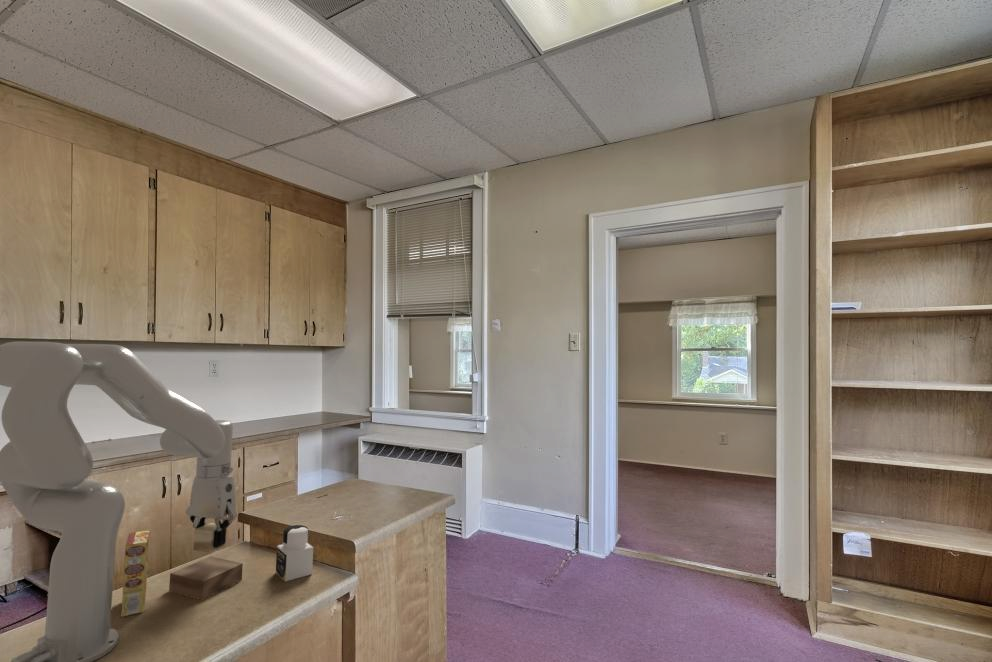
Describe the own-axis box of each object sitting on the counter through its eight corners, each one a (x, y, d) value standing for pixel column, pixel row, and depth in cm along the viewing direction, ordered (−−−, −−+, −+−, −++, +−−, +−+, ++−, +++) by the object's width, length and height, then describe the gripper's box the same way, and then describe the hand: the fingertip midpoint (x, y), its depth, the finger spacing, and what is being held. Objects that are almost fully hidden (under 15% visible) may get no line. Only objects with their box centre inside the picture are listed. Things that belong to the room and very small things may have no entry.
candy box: (143, 613, 106) (148, 541, 107) (119, 618, 104) (124, 545, 105) (146, 596, 114) (150, 529, 115) (123, 600, 111) (128, 532, 112)
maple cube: (210, 552, 118) (211, 531, 118) (193, 550, 119) (194, 529, 119) (226, 544, 123) (227, 524, 123) (209, 542, 124) (210, 522, 124)
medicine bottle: (275, 572, 128) (277, 526, 129) (302, 565, 133) (304, 521, 133) (284, 582, 123) (287, 534, 123) (312, 574, 127) (314, 528, 128)
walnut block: (202, 601, 113) (203, 581, 113) (168, 592, 117) (170, 573, 117) (241, 581, 123) (242, 563, 123) (209, 573, 127) (210, 556, 127)
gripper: (253, 469, 123) (249, 542, 122) (198, 464, 127) (194, 535, 126) (230, 476, 116) (226, 554, 115) (173, 471, 120) (168, 545, 119)
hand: (209, 543), depth 121 cm, fingers closed on maple cube, 5 cm apart
